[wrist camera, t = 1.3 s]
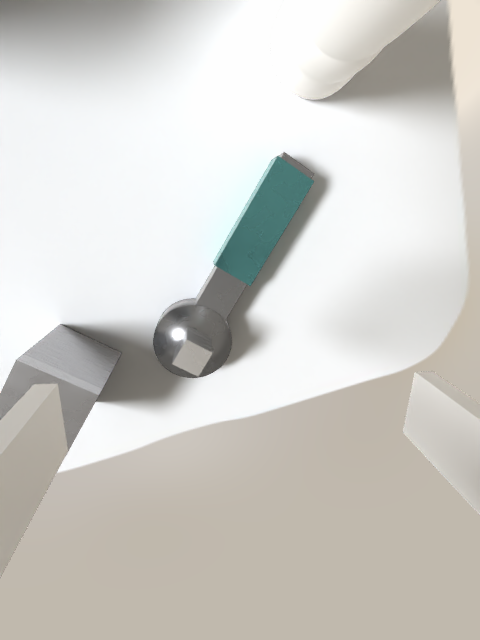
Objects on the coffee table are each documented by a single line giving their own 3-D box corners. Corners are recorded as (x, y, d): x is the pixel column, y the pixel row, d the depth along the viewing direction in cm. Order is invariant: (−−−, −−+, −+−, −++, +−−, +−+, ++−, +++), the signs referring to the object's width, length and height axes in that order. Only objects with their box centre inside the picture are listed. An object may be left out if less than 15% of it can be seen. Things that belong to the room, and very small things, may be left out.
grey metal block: (34, 376, 32) (-16, 426, 25) (60, 324, 31) (16, 359, 24) (94, 402, 34) (65, 456, 26) (121, 352, 33) (98, 395, 25)
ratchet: (207, 377, 35) (208, 409, 29) (143, 346, 33) (132, 375, 27) (323, 189, 30) (352, 184, 25) (258, 142, 29) (272, 125, 23)
